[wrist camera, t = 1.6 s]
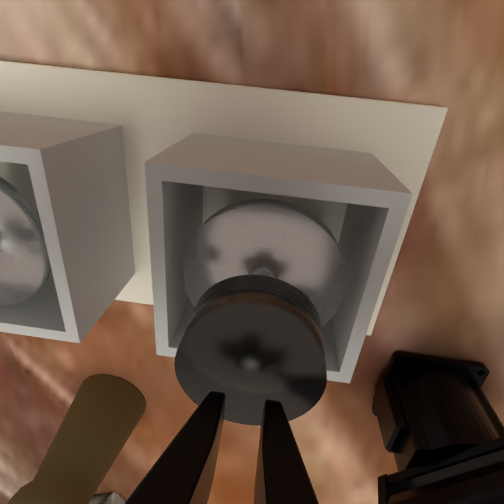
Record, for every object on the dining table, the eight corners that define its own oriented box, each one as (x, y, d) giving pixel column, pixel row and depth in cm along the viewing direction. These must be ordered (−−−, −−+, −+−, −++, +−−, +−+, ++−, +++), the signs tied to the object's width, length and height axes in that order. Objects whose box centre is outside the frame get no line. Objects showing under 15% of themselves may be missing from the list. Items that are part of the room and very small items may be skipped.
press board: (439, 106, 17) (537, 127, 10) (367, 325, 23) (397, 425, 17) (-94, 50, 18) (-317, 36, 11) (-18, 272, 25) (-130, 344, 18)
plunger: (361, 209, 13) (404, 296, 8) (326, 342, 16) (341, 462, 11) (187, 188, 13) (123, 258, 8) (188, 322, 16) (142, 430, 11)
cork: (75, 369, 29) (-37, 520, 19) (143, 380, 28) (66, 539, 19) (85, 415, 31) (-7, 566, 22) (147, 425, 31) (82, 583, 22)
